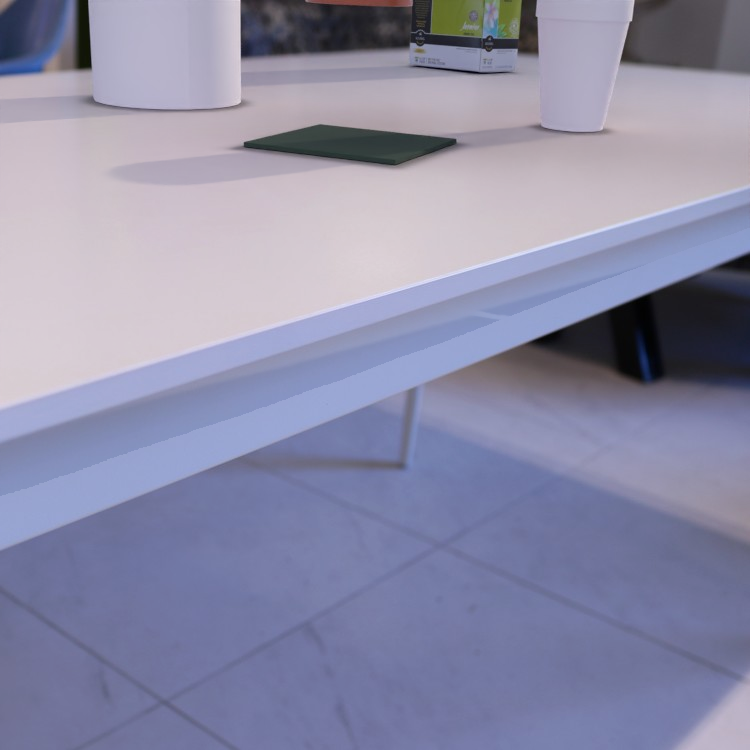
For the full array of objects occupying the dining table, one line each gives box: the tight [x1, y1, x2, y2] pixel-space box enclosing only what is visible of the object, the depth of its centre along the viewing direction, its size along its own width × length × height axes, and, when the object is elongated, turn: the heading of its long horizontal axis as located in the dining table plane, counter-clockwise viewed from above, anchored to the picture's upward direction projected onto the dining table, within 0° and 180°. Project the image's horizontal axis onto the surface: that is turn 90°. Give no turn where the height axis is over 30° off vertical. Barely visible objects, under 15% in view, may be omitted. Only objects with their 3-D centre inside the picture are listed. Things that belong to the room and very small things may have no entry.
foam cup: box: [535, 0, 635, 133], centre depth 106 cm, size 10×9×13 cm
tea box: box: [408, 0, 523, 73], centre depth 167 cm, size 15×10×15 cm, turn 46°
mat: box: [243, 123, 458, 166], centre depth 92 cm, size 14×14×1 cm
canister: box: [87, 0, 242, 111], centre depth 113 cm, size 16×16×20 cm
